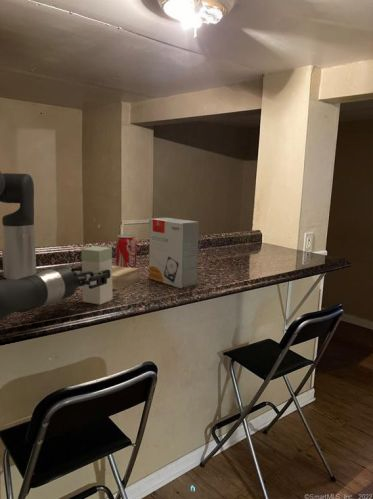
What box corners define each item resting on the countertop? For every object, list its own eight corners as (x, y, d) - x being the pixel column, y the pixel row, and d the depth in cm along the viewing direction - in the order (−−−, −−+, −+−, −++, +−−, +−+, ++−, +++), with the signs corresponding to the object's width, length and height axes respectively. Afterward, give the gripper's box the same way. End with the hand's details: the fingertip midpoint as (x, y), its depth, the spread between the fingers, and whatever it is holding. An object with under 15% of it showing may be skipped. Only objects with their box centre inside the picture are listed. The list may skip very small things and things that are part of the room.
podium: (85, 285, 120) (84, 272, 119) (108, 276, 130) (107, 265, 130) (118, 289, 115) (117, 276, 114) (139, 280, 126) (139, 268, 125)
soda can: (113, 271, 139) (113, 234, 136) (133, 269, 141) (133, 234, 139) (118, 275, 132) (118, 237, 130) (139, 274, 135) (139, 236, 133)
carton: (83, 301, 103) (81, 249, 101) (95, 296, 108) (94, 246, 106) (100, 304, 101) (99, 251, 99) (112, 299, 106) (111, 247, 104)
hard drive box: (148, 279, 128) (148, 218, 125) (165, 275, 133) (166, 217, 130) (180, 288, 117) (181, 222, 114) (198, 284, 122) (200, 220, 119)
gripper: (75, 273, 84) (118, 260, 99) (26, 266, 90) (73, 255, 105) (76, 306, 86) (118, 288, 100) (27, 297, 91) (74, 282, 106)
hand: (95, 271), depth 103 cm, fingers open, 8 cm apart
